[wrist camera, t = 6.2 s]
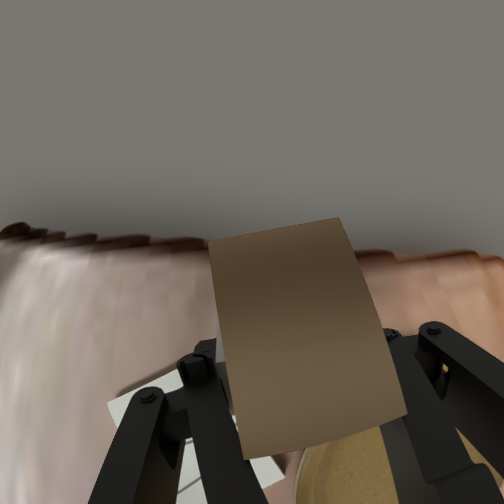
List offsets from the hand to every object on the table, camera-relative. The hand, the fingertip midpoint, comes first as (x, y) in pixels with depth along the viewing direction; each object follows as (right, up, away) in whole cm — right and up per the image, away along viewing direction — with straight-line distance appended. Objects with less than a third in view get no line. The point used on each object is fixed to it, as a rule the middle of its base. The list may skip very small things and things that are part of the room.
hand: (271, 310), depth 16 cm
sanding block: (+1, -5, +1) cm, 5 cm away
